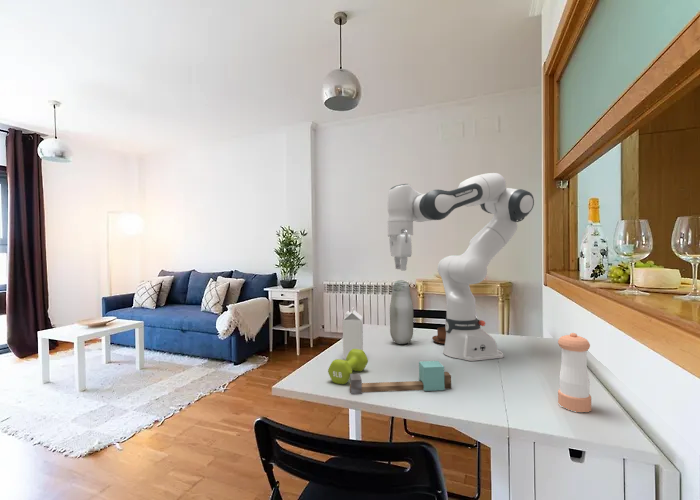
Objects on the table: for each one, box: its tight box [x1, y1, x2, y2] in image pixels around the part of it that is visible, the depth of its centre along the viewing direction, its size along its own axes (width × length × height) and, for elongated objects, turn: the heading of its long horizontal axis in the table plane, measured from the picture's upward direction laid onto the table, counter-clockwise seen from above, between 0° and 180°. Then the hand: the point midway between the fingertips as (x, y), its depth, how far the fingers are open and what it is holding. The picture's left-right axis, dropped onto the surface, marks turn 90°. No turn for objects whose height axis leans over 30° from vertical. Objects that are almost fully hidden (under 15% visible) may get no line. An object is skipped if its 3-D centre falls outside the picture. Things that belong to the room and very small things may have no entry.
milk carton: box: [342, 306, 364, 360], centre depth 135 cm, size 7×7×19 cm
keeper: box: [418, 360, 446, 392], centre depth 104 cm, size 6×6×7 cm
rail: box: [349, 371, 452, 395], centre depth 103 cm, size 30×5×4 cm, turn 94°
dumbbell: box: [327, 349, 369, 385], centre depth 114 cm, size 16×8×7 cm, turn 153°
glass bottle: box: [389, 279, 414, 345], centre depth 154 cm, size 10×10×28 cm
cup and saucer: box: [431, 326, 446, 345], centre depth 156 cm, size 12×12×6 cm
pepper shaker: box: [557, 332, 592, 413], centre depth 90 cm, size 7×7×19 cm
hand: (400, 269), depth 122 cm, fingers open, 8 cm apart
